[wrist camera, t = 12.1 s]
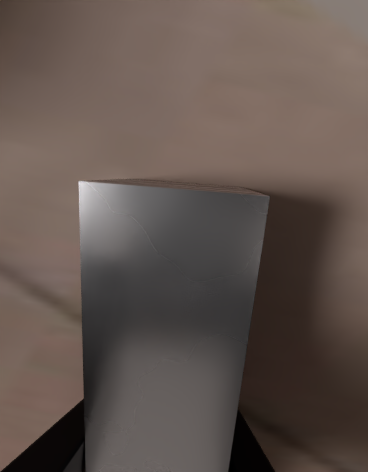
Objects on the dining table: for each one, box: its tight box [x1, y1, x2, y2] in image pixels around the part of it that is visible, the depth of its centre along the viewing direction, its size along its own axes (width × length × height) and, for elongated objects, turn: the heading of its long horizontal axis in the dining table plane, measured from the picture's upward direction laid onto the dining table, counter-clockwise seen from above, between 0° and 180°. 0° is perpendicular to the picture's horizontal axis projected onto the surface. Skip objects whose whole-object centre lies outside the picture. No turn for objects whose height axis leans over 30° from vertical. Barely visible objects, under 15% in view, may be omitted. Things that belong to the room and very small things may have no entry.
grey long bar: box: [79, 179, 270, 472], centre depth 7 cm, size 12×3×3 cm, turn 176°
